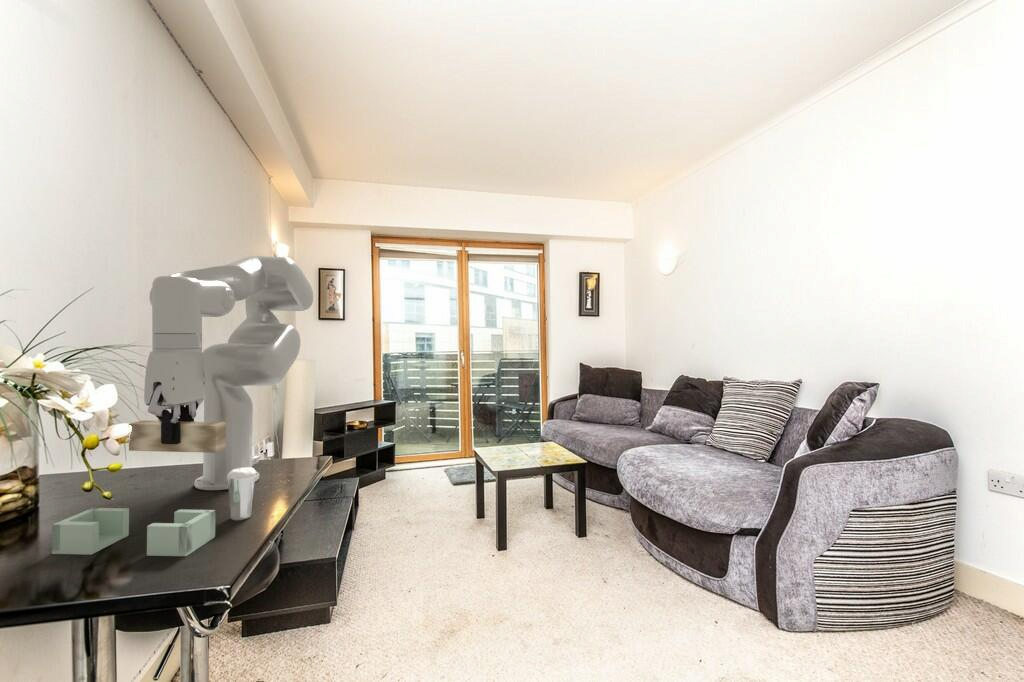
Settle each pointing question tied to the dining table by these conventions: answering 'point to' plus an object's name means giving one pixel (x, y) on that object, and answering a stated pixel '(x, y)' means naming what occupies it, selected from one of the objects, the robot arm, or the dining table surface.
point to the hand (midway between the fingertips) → (177, 440)
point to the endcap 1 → (90, 531)
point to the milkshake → (241, 491)
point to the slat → (191, 437)
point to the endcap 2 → (181, 533)
